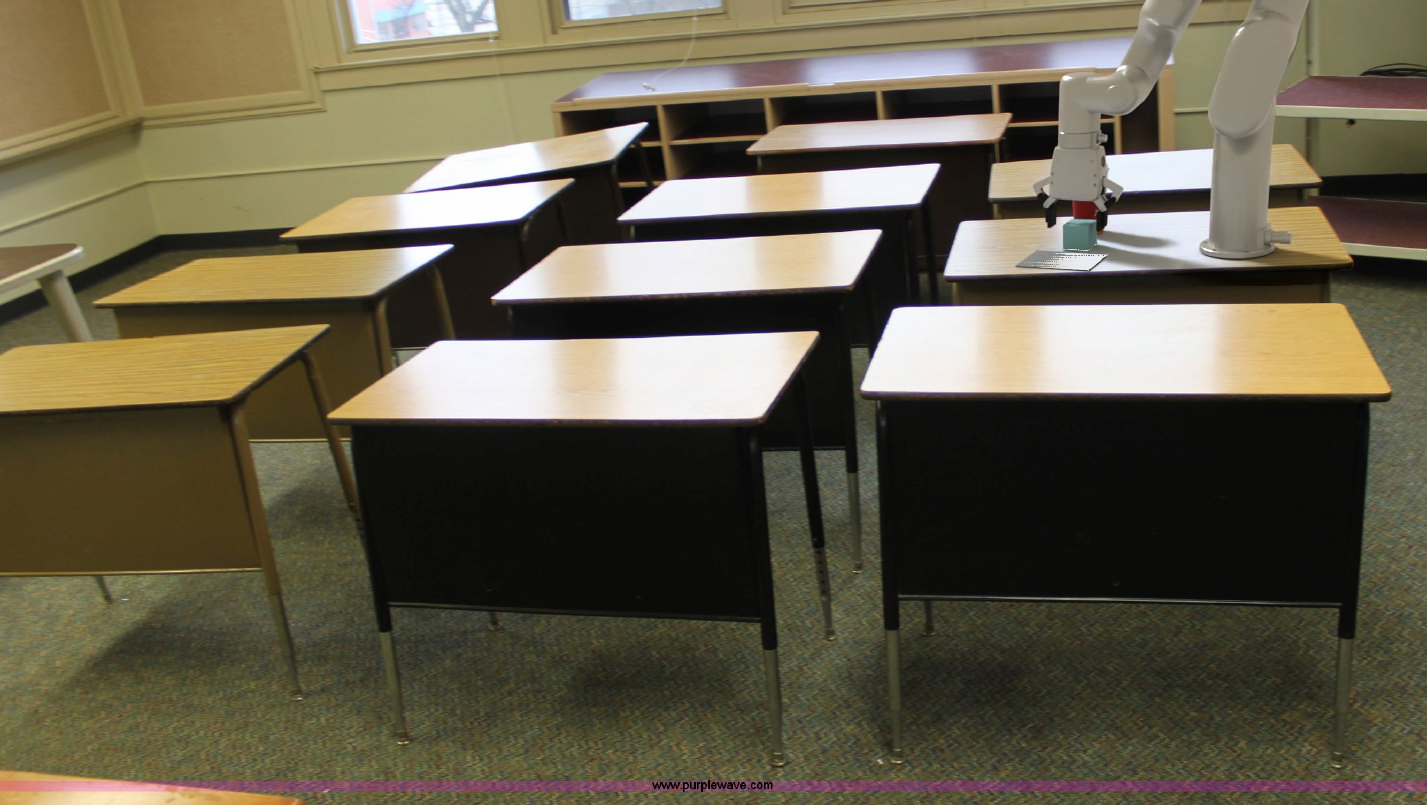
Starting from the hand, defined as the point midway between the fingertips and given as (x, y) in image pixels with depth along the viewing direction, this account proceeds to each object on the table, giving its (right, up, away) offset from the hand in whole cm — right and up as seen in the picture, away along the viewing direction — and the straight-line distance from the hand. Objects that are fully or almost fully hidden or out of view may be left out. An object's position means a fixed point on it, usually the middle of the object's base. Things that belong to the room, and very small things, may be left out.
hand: (1075, 228), depth 221 cm
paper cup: (+6, +1, +10) cm, 12 cm away
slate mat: (-5, -7, -6) cm, 11 cm away
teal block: (+1, -4, +1) cm, 4 cm away
